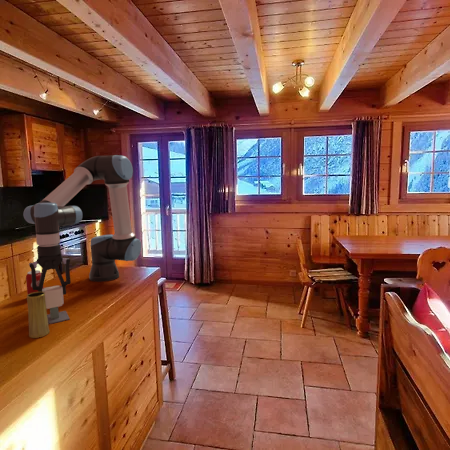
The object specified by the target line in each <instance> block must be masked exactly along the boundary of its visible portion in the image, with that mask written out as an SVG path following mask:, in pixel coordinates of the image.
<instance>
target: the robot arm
mask: <svg viewBox="0 0 450 450" xmlns="http://www.w3.org/2000/svg"><path fill="white" fill-rule="evenodd" d="M133 175H134V168H133V164H132V162H131V161H130V159H129V158H128V157H127V156H125V155H121V154H119V155H118V154H114V155H113V154H112V155H96V156H92V157H90V158H88V159H86V160H84V161H83V162H82V163H80V164H78V166H76V167H75V168H74V169H73V173H72V174H70V176H69V177H68V178H66V179H65V180H63V181H62V182H61V184H59V185H58V186H57V187H56V188H55V189H53V190H52V191H51V192H50V193H48V194H47V195H46V196H45V198H43V199H42V200H41V201H39V202H38V203H35V204H33V205H29V206H26V207H25V208H24V211H23V213H22V214H23V215H22V216H23V218H24V220H25V222H27V223H28V224H33V225H35V236H36V245H37V247H36V249H37V258H36V261H34V262H29V263H28V265H29V268H30V271H31V274H32V288H33V290H38V292H44V293H45V290H44V289H43V288H44V283H45V280H46V274H47V272H48V271H50V270H55V272H56V274H57V277H58V280H59V282H60V284H61V285H59V286H60V288H61V297H62V305H64V304H65V303H64V295H66V294H67V288H66V286H68V285H71V283H72V281H71V270H70V264H71V259H70V258H69V257H63V256H62V252H61V251H62V249H61V244H60V243H61V238H60V227H66V226H71V225H72V226H74V225H76V224H79V223H80V222H81V221H82V220H83V211H82V209H81V208H80V207H79V206H78V205H67V204H68V203H69V202H70V201H71V200H72V199H73V198H74V197H75V196H77V194H78V193H79V192H80V191H81V190H82V189H84V188H85V187H86V186H87V185H91V184H92V183H93V182H94V181H99V180H103V181H104V185H105V186H106V187H107V188H108V193H109V201H110V202H109V203H110V208H111V217H112V223H113V224H112V225H113V230H114V234H102V235H98V236H94V237H92V238H91V239H90V254H91V267H90V270H89V271H90V272H89V274H88V278H89V280H90V281H91V282H96V283H97V282H100V283H101V282H102V283H103V282H110V281H113V280H115V279H116V280H117V279H118V278H119V277H120V272H119V269H118V266H117V263H116V261H125V262H131V261H132V262H133V261H135V260H137V259H138V258H139V256H140V254H141V251H142V241H141V240H140V239H139V238H137V237H136V233H135V232H133V229H132V221H131V211H130V204H129V196H128V195H129V194H128V188H127V187H128V186H127V185H129V183H130V179H132V177H133ZM61 263H62V264H63V265H64V271H65V272H64V273H65V280H64V278H63V274H62V272H61V270H60V268H59V267H60V265H61ZM38 265H39V267H41V271H40V272H41V277H40V281H39V285H38V286H36V268H37V266H38ZM45 302H46V300H45Z"/></svg>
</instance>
